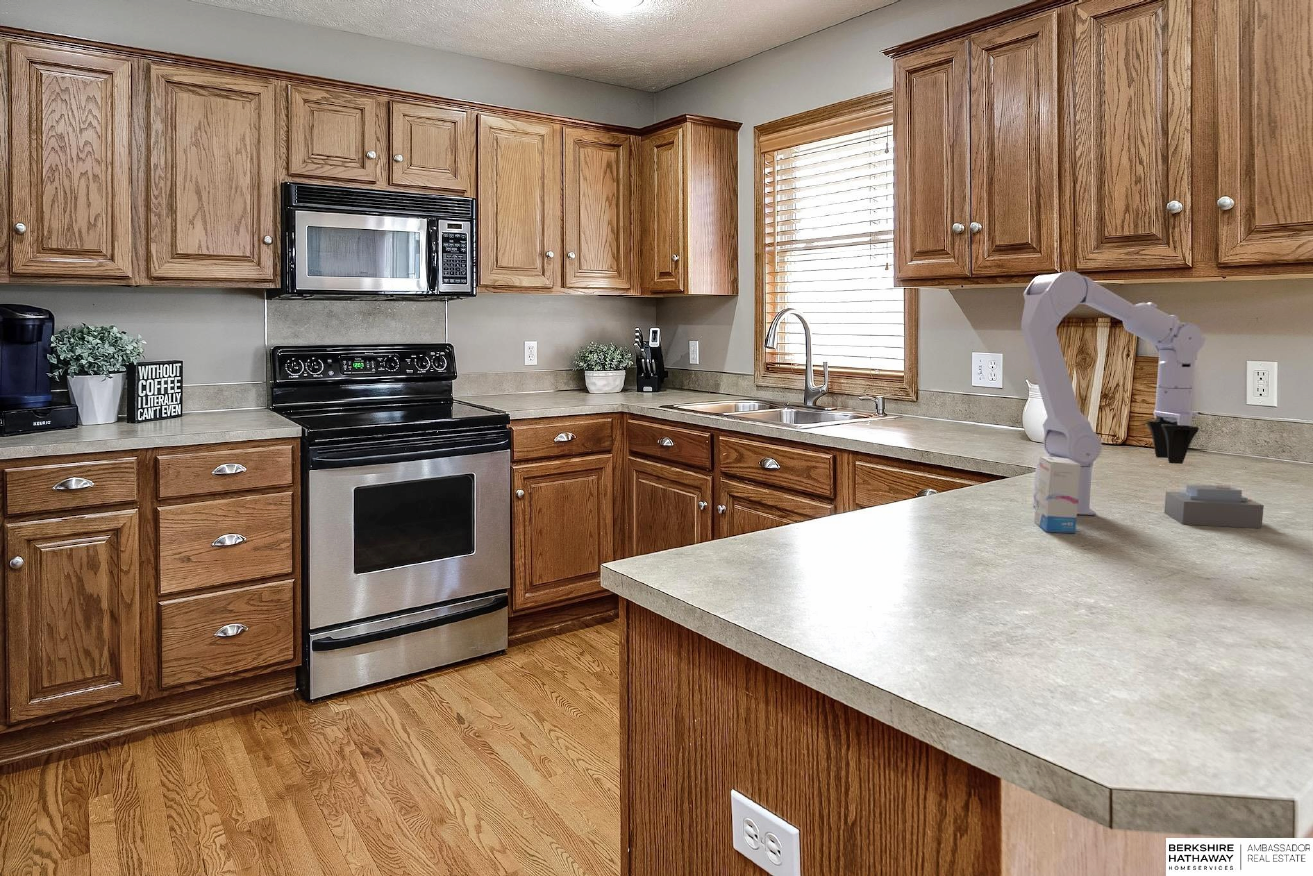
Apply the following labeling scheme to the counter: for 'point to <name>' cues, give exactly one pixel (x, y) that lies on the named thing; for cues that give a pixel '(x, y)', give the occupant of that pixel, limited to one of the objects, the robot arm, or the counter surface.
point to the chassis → (1213, 512)
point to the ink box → (1057, 494)
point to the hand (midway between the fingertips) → (1168, 460)
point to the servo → (1213, 493)
